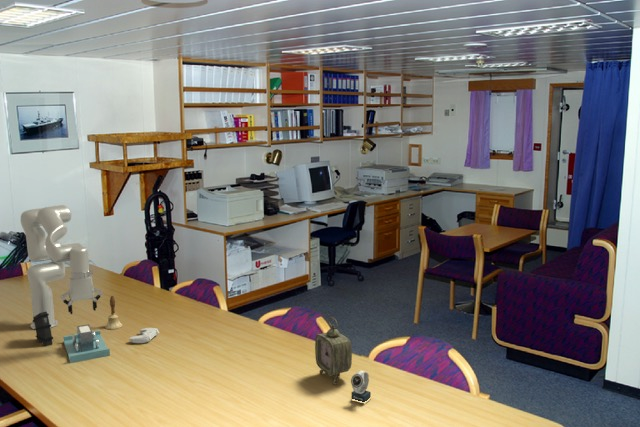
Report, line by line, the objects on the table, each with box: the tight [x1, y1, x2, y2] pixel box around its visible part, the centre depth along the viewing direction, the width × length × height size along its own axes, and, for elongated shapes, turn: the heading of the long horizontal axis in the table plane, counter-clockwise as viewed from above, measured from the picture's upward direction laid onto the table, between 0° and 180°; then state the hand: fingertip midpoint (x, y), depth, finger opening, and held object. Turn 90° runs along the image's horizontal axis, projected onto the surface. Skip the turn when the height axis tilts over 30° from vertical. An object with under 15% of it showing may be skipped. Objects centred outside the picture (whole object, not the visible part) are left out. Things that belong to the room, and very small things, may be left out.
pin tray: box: [62, 329, 111, 364], centre depth 259 cm, size 26×16×5 cm, turn 30°
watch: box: [350, 369, 371, 402], centre depth 210 cm, size 6×8×11 cm
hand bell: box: [104, 295, 123, 330], centre depth 285 cm, size 8×8×16 cm
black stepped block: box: [32, 311, 54, 347], centre depth 266 cm, size 4×13×15 cm, turn 46°
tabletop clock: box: [314, 317, 353, 385], centre depth 227 cm, size 14×9×25 cm, turn 29°
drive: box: [76, 324, 94, 352], centre depth 258 cm, size 12×5×8 cm, turn 30°
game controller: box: [128, 327, 160, 345], centre depth 270 cm, size 14×4×10 cm
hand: (82, 311), depth 256 cm, fingers open, 9 cm apart
